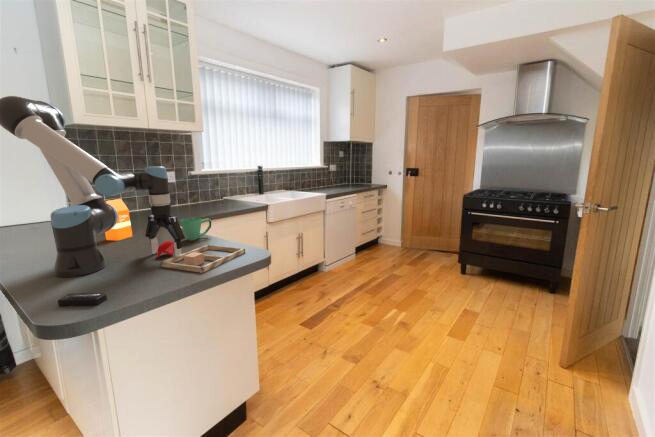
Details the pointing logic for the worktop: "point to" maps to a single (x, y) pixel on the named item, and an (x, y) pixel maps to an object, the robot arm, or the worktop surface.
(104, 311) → the worktop surface
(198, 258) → the block
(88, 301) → the multiport hub
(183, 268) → the rack
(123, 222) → the orange juice
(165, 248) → the red rounded oval lump
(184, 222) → the mug
